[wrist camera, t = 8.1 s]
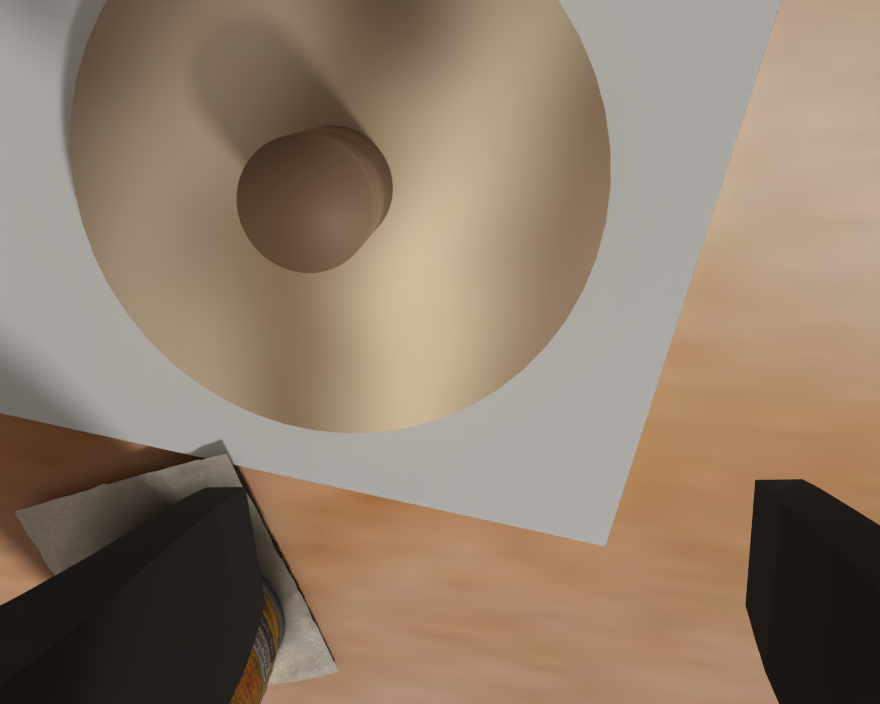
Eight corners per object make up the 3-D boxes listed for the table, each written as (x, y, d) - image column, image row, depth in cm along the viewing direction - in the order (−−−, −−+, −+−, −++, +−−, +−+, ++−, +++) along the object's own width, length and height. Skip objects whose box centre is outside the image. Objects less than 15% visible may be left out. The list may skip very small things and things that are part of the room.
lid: (658, -80, 17) (700, -123, 13) (557, 451, 21) (567, 527, 18) (76, -150, 17) (-36, -210, 14) (95, 385, 22) (14, 446, 18)
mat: (798, -71, 17) (804, -74, 17) (603, 538, 23) (605, 546, 22) (2, -235, 17) (-9, -242, 17) (5, 406, 23) (-4, 412, 22)
